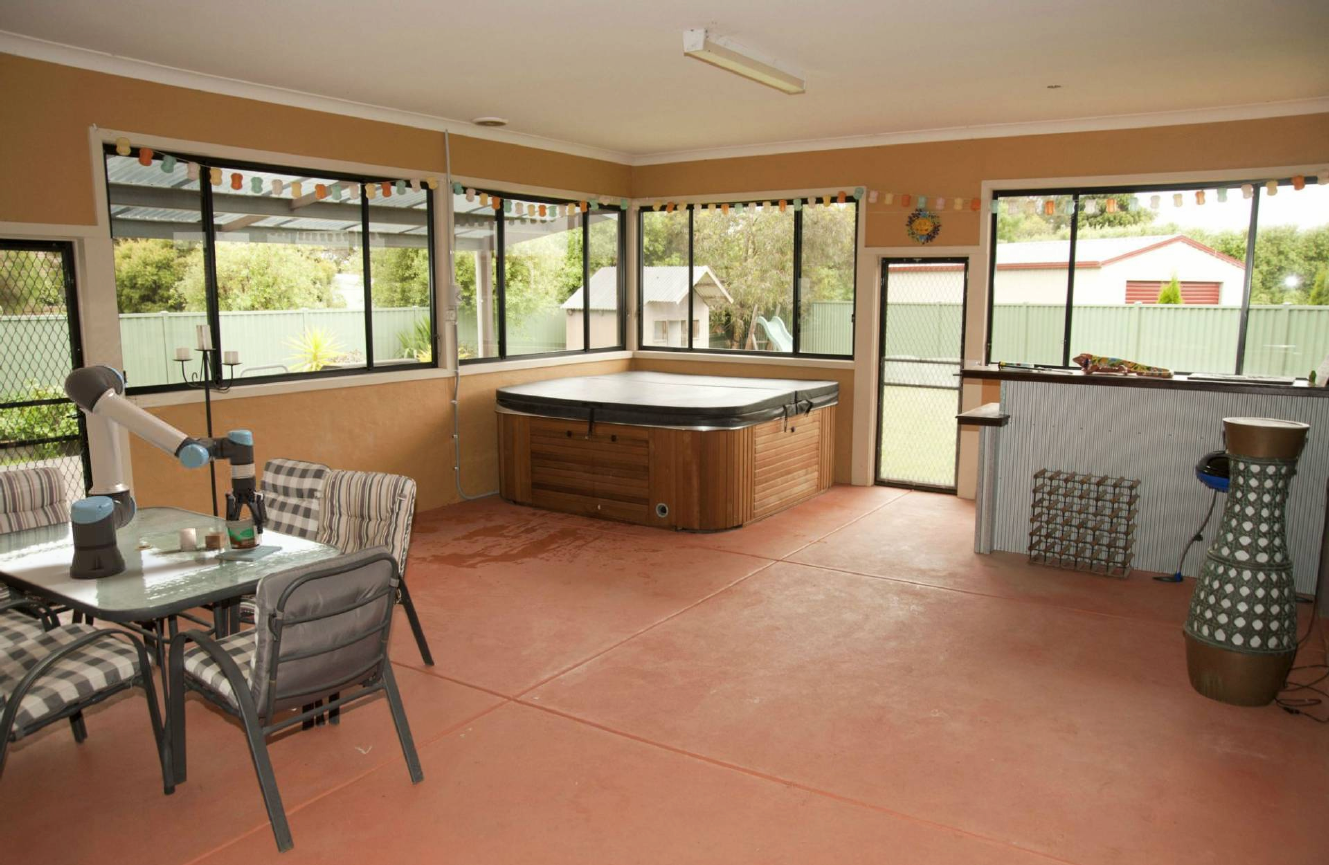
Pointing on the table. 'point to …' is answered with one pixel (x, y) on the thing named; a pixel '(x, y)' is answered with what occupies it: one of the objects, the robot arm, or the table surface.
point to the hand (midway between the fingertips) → (248, 542)
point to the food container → (241, 533)
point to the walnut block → (216, 540)
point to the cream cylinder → (187, 539)
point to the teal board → (248, 553)
